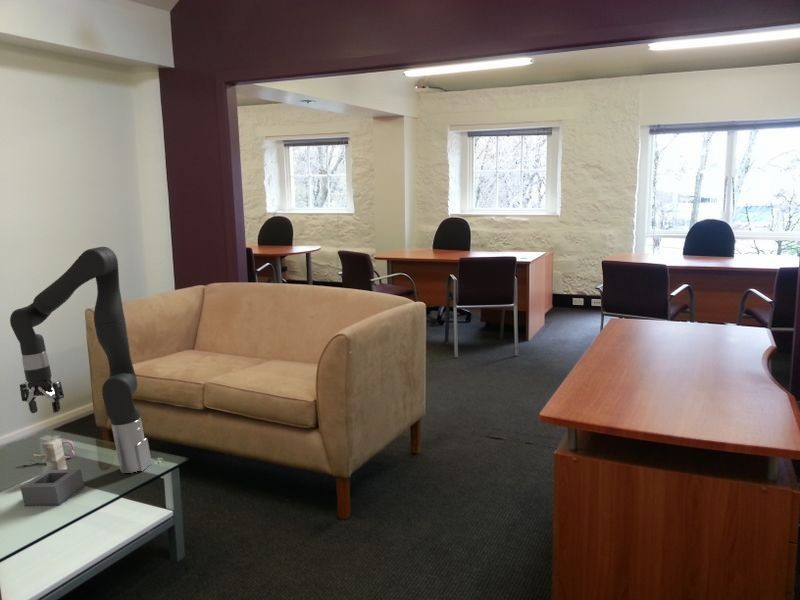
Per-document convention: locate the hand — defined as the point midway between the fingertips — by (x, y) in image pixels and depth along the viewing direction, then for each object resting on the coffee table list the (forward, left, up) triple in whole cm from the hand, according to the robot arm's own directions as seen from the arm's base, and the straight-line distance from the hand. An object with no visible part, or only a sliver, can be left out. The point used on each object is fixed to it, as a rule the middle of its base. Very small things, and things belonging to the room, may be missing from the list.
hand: (45, 412), depth 215 cm
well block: (-11, +16, -22) cm, 30 cm away
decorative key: (+13, -11, -23) cm, 29 cm away
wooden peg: (0, 0, -23) cm, 23 cm away
